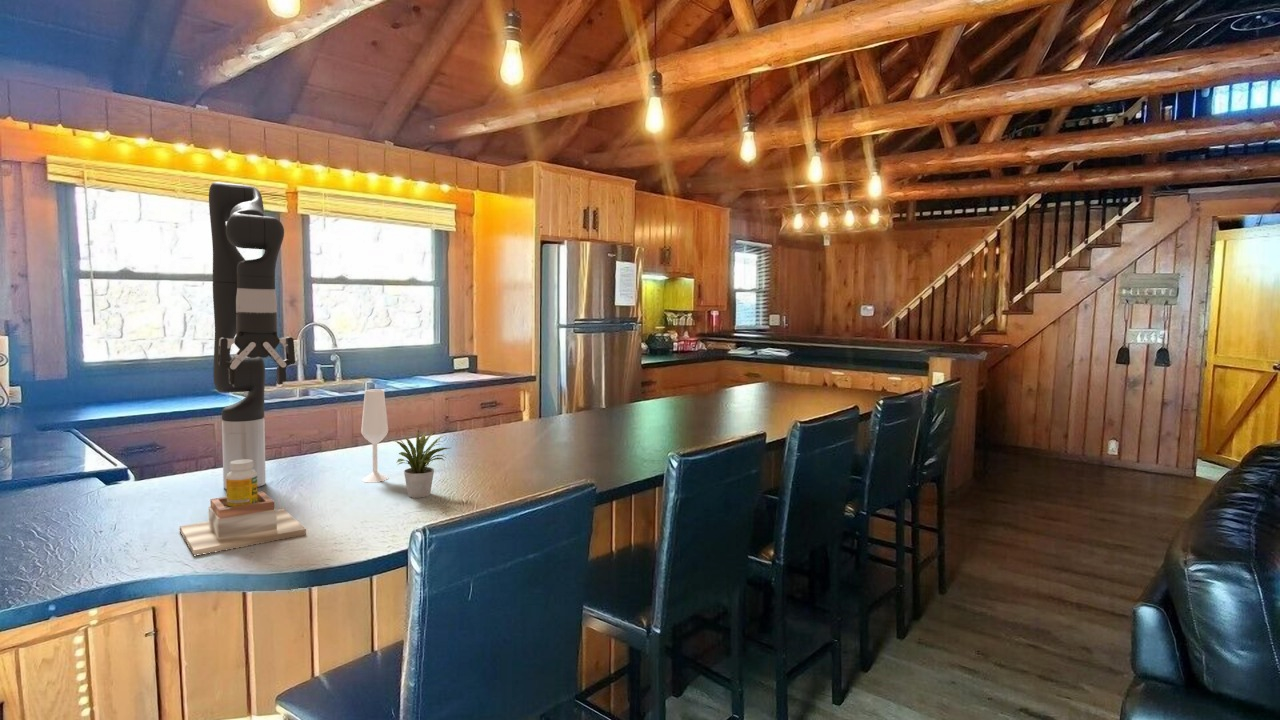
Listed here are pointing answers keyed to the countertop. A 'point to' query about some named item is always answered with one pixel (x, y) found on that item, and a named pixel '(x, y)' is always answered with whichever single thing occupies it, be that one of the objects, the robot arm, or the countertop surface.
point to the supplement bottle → (241, 483)
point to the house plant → (419, 466)
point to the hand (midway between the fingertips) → (257, 385)
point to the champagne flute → (374, 426)
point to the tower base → (213, 544)
